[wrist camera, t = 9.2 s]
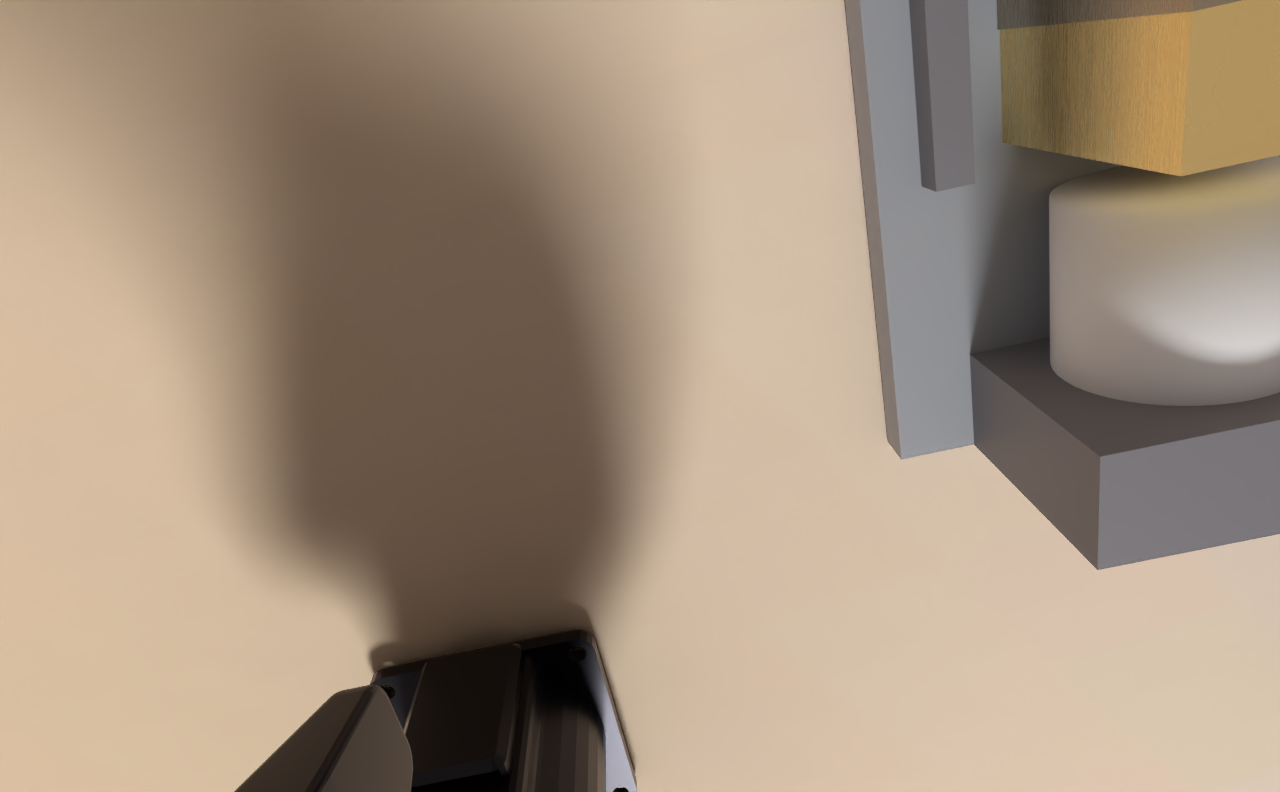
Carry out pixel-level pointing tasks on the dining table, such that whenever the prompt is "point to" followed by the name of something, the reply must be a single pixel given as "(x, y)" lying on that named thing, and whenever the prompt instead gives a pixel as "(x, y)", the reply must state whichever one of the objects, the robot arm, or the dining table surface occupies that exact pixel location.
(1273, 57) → the banded gold block
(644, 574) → the dining table surface
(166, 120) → the dining table surface
